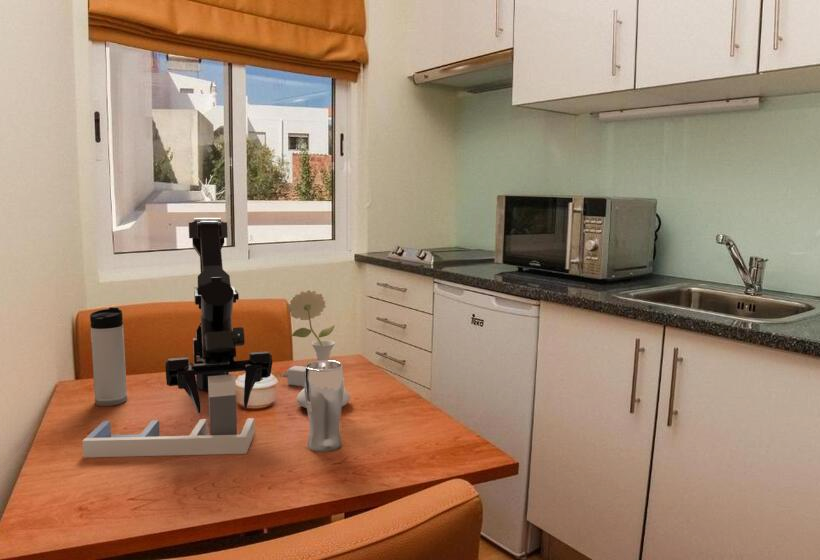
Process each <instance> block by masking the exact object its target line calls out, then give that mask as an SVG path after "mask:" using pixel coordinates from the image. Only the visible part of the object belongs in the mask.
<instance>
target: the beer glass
mask: <svg viewBox="0 0 820 560" xmlns="http://www.w3.org/2000/svg"><path fill="white" fill-rule="evenodd" d="M304 367H306V369H305V387H303V389H305V401H306V407H307V408H306V411H307V416H308V421H309V433H308V441H307V447H308V448H309V450H311V451H313V452H318V453H328V452H333V451H336V450H338V449H339V448H341V446H342V444H343V442H342V438H341V431H340V420H341V414H342V408H343V406H342V403H343V395H344V389H345V380H344V371H343V367H344V366H343V363H342V362H340V361H336V360H332V359H331V360H330V359H329V360H319V361H318V360H314V361H310V362H308V363H306V364H305V366H304Z"/></svg>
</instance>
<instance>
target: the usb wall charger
mask: <svg viewBox="0 0 820 560" xmlns="http://www.w3.org/2000/svg"><path fill="white" fill-rule="evenodd" d="M305 369H306V367H305V366H301V365H293V366H291V367H289V368H288V369H287V371H284V373H280V378H281V377H282V378H286V379H287V385H288V386H293V387H300V386H301V387H302V388H304V387H305Z"/></svg>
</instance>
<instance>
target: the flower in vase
mask: <svg viewBox="0 0 820 560" xmlns="http://www.w3.org/2000/svg"><path fill="white" fill-rule="evenodd" d="M289 302H290V303H289V304H288V305H287V309H288V312H289V313H290V316H291V317H292V318H294V319H300V321H309V327H310V329H309V328H306V327H300V328H298V329H296V330H295V331H294V332H292V334H291V336H292V337H298V338H307V337H308V336H309V335H310V334H313V335H314V336H315V338H316V339H317V340H314V341H312V342H311V343H310V344H311V346H312V347H313V349H314V351H315V353H316V358H317V361H319V360H330V355H331V351H332V349H333V347H334V346H335V344H336V342H335V341H334V340H328V339H323V340H322V339H320V338H325V337H327V336H329V335H330V334H332V332H333V330H334V329H335V324H334V325H332V326H330V327H326V328H325V329H322V330H321V331H320V332H319V333H318V335H317V334H316V333H315V330H313V326H312V321H311V319H315V317H318V316H319V317H320V316H321V313H323V312H324V309H326V308H327V307H326V301H325V300H324V297H323V294H322V293H317V292H316V291H315V290H313V291H311V290H307V291H300V293H299V294H298V293H297V294H295V295H294V296H293V297H292V299H291V300H290V301H289ZM350 401H351V395H350V393H349V391H348V390H346V389H345V388H344V395H343V403H342V407H344V406H345V405H347V404H348V403H349V402H350ZM296 402H297V403H298V405H299V406H301V407H303V408H305V409H307V407H306V401H305V389H304V388H302V389H301V391H300V392H299V393H298V395H297V397H296Z"/></svg>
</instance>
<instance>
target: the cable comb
mask: <svg viewBox="0 0 820 560" xmlns="http://www.w3.org/2000/svg"><path fill="white" fill-rule="evenodd" d="M255 433H256V432H255V418H254V417H252V418H251V417H249V418H246V421H245V423H244V425H243V427H242V430H241V433H240V434H237V435H210V434H208V419H207V418H202V419H199V420H198V422H197V423H196V425H195V427H194V428H193V430H192V431H191V433H190V434H189V435H173V436H172V435H171V436H170V435H166V436H164V435H163V436H160V420H159V419H152V420H151V421H150V422H149V423H148V424H147V425H146V427H144V429H143V430H142V431H141V433H140V434H139V433H138V434H137V433H136V434H112V428H111V420H103V421H102V422H101V423H99V424H98V426H96V427H95V428H94V429H93V430H92V431H91V432H90V433H89V434H88V435H87V436H86V437H85V438H83V440H82V452H83V453H82V455H83V458H85V459H86V458H121V457H122V458H123V457H125V458H126V457H159V456H161V457H162V456H166V457H167V456H168V457H169V456H200V455H201V456H202V455H236V454H237V455H238V454H239V455H241V454H242V455H244V454H247V453H248V450H249V448H250V445H251V443H252V440H253V438H254V436H255Z"/></svg>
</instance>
